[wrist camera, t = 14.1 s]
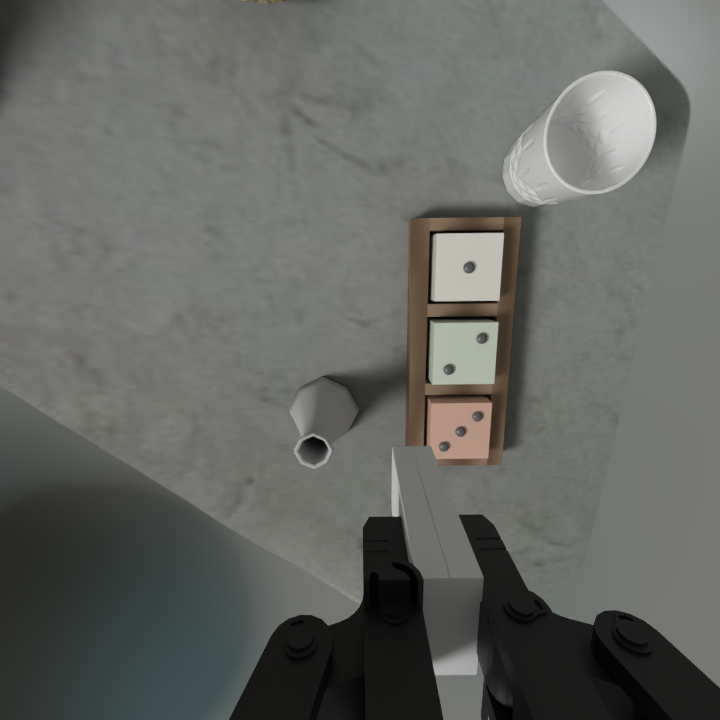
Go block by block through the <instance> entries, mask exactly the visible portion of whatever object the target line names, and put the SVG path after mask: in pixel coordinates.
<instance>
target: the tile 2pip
mask: <svg viewBox="0 0 720 720" xmlns="http://www.w3.org/2000/svg"><path fill="white" fill-rule="evenodd" d="M498 324H499V322H496V321H494V320H491V319H488V318H460V319H428V352H427V377H428V379H429V380H430V382H431V383H432V385H446V384H494V380H495V366H496V352H497V338H498Z"/></svg>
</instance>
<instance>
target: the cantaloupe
mask: <svg viewBox="0 0 720 720" xmlns="http://www.w3.org/2000/svg"><path fill="white" fill-rule="evenodd" d="M243 1H245V2H247V1H250V2H260V3H263V4H269V3H272V4H275V3H281V2H284V1H287V0H243Z"/></svg>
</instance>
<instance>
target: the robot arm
mask: <svg viewBox="0 0 720 720" xmlns="http://www.w3.org/2000/svg"><path fill="white" fill-rule="evenodd" d="M392 515H393V517H369V518H368V520H367V522H366V523H365V525H364V527H363V580H364V594H363V601H362V603H361V605H360V607H359V608H358V610H357V611H356V612H355V613H354V614H353V615H352V616H350V617H349V618H348V619H345V620H343V621H341V622H339V623H335V624H333V625H329V626H328V625H327V624H326V623H325V622H324V621H323V620H322V619H319V618H317V617H314V616H312V615H299V616H296V617H293V618H289V619H288V620H286V621H285V622H284V623H282V624H281V625H279V626H278V627H277V629H276V630H275V632H274V633H273V634H272V636H271V637H270V639H269V641H268V643H267V646H266V648H265V649H264V652H263V654H262V655H261V658H260V659H259V661H258V663H257V665H256V667H255V669H254V671H253V673H252V675H251V677H250V679H249V681H248V683H247V685H246V687H245V689H244V691H243V693H242V695H241V697H240V699H239V701H238V703H237V705H236V707H235V709H234V711H233V713H232V715H231V717H230V719H229V720H443V716H442V710H441V705H440V700H439V694H438V689H437V684H436V679H435V675H476V674H477V663H478V659H479V662H480V665H481V668H482V672H483V675H484V684H483V697H482V709H481V720H488V716H489V719H490V720H720V688H719V687H718V686H717V685H716V684H715V683H714V682H712V681H711V680H710V679H709V678H708V677H707V676H706V675H705V674H703V672H702V671H701V670H699V669H698V668H697V667H696V666H695V665H694V664H693V663H692V662H691V661H690V660H689V659H687V658H686V657H685V656H684V655H683V654H682V653H681V652H680V651H679V650H677V648H675V647H674V646H673V645H672V644H671V643H670V642H669V641H668V640H666V638H664V637H663V636H662V635H661V634H660V633H659V632H658V631H657V630H656V629H654V628H653V627H651V626H650V625H649V624H647V623H646V622H645V621H643V620H641V619H639V618H637V617H635V616H633V615H631V614H628V613H624V612H620V611H604V612H602V613H600V614H598V615H597V617H596V619H595V622H594V625H591V624H587V623H583V622H579V621H575V620H572V619H568V618H565V617H562V616H559V615H557V614H555V613H553V612H552V611H551V609H550V608H549V606H548V605H547V604H546V603H545V601H544V600H543V599H541V598H540V597H539V596H537V595H536V594H535V593H533V592H531V591H529V590H528V589H527V587H526V585H525V583H524V581H523V579H522V577H521V576H520V574H519V572H518V570H517V568H516V566H515V564H514V562H513V560H512V558H511V557H510V555H509V553H508V551H506V547H505V545H504V543H503V541H502V540H501V537H500V536H499V534H498V532H497V530H496V528H495V526H494V525H493V524H492V523H491V522H490V521H489V520H488V519H486V518H485V517H484V516H483V515H458V512H457V510H456V507H455V505H454V502H453V500H452V497H451V495H450V492H449V490H448V487H447V485H446V482H445V480H444V477H443V475H442V472H441V470H440V468H439V465H438V463H437V460H436V458H435V455H434V453H433V450H432V448H431V446H392Z"/></svg>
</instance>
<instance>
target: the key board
mask: <svg viewBox="0 0 720 720" xmlns="http://www.w3.org/2000/svg"><path fill="white" fill-rule="evenodd" d="M520 229H521V217H471V218H412V219H411V220H410V221H409V269H408V328H407V387H406V446H424V414H425V395H478V394H484V395H485V396H486V397H487V398H488V399H489V400H490V401H491V402H492V412H491V426H490V441H489V455H488V458H485V459H436V460H437V463H438V465H502V455H503V443H504V430H505V417H506V405H507V392H508V380H509V367H510V355H511V342H512V330H513V317H514V305H515V292H516V279H517V267H518V254H519V242H520ZM469 232H494V233H504V242H503V256H502V270H501V285H500V299H499V301H490V302H428V273H429V238H430V233H469ZM455 316H489V318H488V319H491V320H494V321H496V322H499V324H498V338H497V352H496V366H495V380H494V384H446V385H432V383H431V382H430V380H429V379H428V377H426V344H427V317H455Z"/></svg>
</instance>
